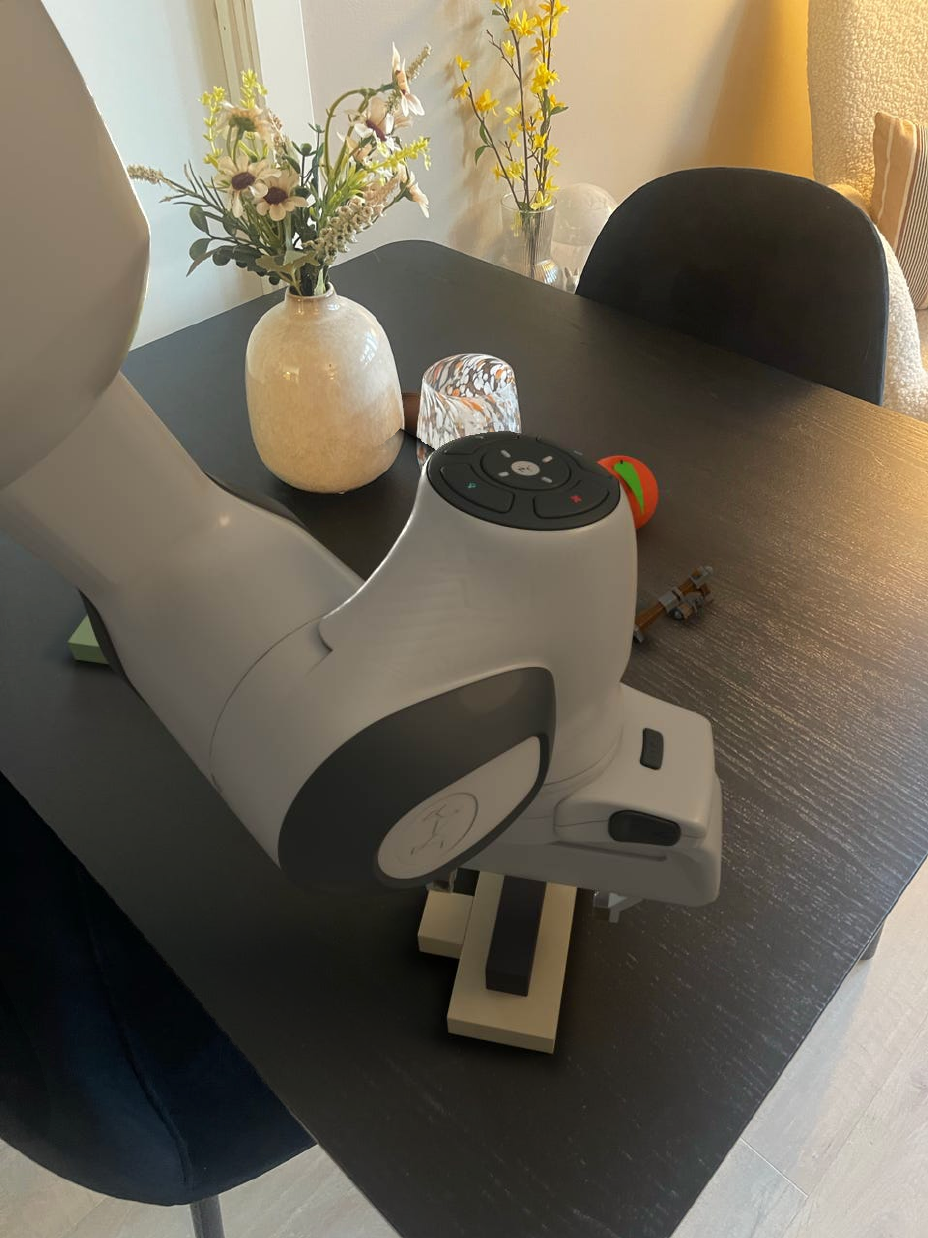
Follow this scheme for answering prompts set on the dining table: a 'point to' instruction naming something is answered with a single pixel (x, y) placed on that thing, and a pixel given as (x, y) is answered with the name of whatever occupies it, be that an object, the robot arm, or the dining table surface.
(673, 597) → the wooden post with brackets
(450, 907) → the cream pad
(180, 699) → the robot arm
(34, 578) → the dining table surface
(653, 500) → the clementine
